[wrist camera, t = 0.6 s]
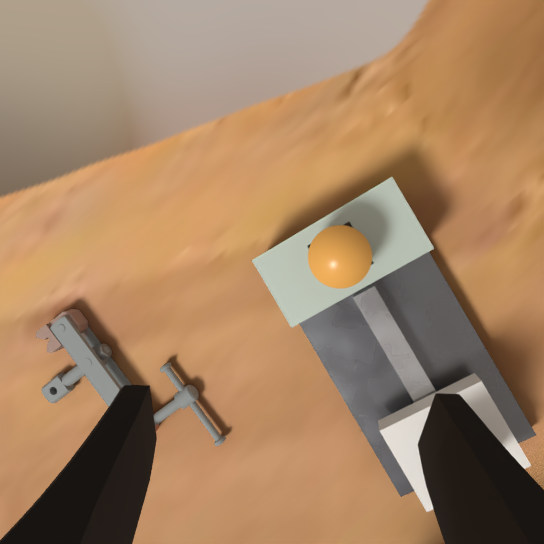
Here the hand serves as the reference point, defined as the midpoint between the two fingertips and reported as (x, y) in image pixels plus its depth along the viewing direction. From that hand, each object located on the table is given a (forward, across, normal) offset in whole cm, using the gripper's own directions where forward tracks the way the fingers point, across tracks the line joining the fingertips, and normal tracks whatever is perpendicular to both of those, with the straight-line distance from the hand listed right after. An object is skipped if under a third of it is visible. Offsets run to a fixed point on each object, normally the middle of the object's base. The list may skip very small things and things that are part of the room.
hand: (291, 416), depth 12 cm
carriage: (+12, -12, +16) cm, 23 cm away
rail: (+17, -9, +12) cm, 22 cm away
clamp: (+18, +11, +19) cm, 28 cm away
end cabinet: (+20, -5, +7) cm, 22 cm away
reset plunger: (+18, -5, +6) cm, 19 cm away
